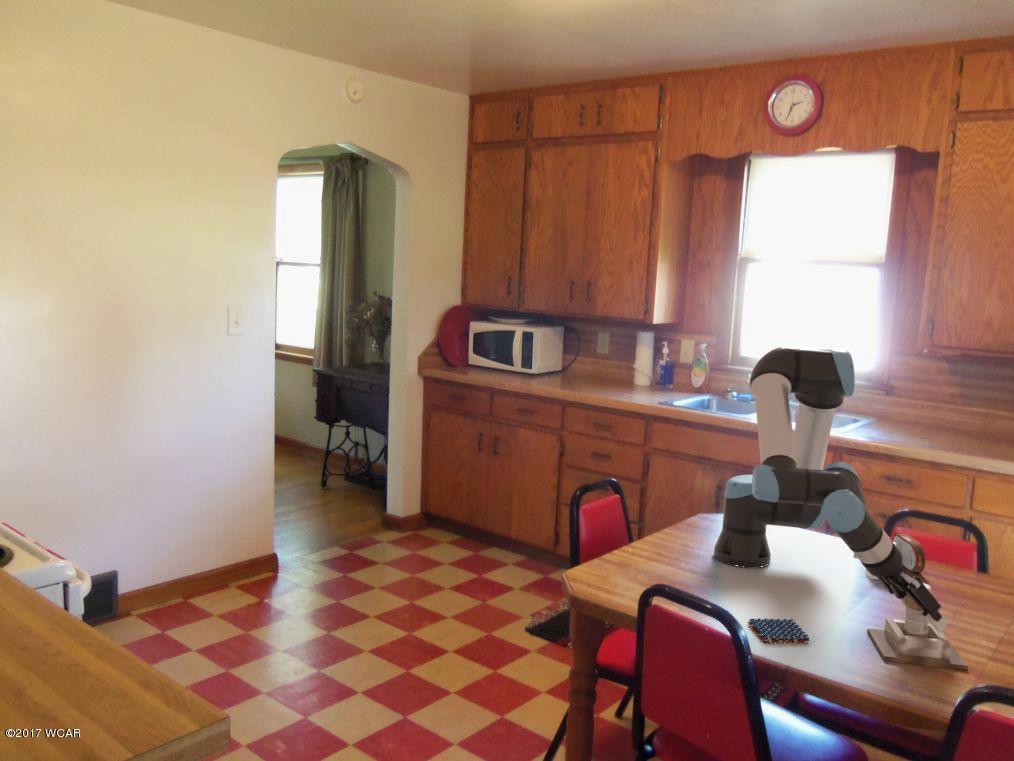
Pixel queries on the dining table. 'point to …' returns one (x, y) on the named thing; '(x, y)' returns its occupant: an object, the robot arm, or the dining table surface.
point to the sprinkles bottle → (915, 618)
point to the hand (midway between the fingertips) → (932, 621)
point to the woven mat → (778, 630)
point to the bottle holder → (915, 646)
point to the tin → (910, 552)
